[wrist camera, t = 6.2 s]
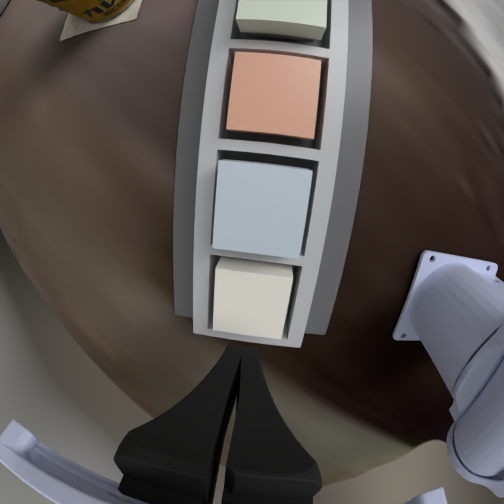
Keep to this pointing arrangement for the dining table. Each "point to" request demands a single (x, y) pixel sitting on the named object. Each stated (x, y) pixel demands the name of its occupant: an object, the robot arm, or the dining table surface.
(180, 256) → the keypad
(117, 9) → the condiment
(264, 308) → the ivory key
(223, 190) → the bluegrey key
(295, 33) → the sage key
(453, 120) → the dining table surface
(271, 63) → the terracotta key
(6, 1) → the dish
